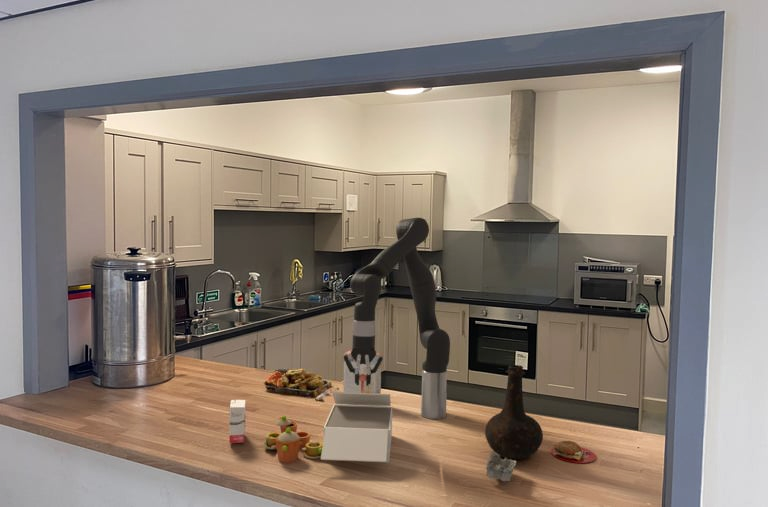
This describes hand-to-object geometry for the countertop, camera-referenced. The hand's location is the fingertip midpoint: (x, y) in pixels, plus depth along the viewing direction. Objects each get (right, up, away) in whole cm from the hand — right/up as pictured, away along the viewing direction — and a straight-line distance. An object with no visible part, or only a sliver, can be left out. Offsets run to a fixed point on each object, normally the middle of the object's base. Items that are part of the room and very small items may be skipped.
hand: (362, 384), depth 187 cm
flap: (0, -5, -1) cm, 5 cm away
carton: (-1, -18, -12) cm, 22 cm away
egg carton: (+38, -21, -26) cm, 51 cm away
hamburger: (+67, -20, -9) cm, 71 cm away
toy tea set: (-23, -18, -9) cm, 31 cm away
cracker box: (-2, -16, +36) cm, 39 cm away
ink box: (-41, -17, -2) cm, 45 cm away
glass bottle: (+48, -20, -10) cm, 53 cm away
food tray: (-30, -16, +55) cm, 65 cm away
